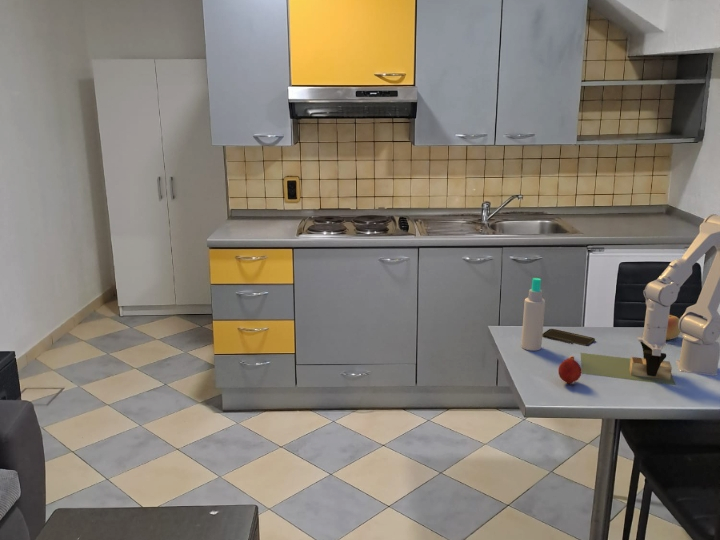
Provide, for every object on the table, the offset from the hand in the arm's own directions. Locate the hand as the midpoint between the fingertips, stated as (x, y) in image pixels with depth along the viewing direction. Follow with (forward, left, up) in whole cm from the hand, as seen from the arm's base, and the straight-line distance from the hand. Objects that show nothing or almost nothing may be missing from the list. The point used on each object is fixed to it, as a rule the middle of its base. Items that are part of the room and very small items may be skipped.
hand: (649, 370), depth 179 cm
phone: (+21, -23, -2) cm, 32 cm away
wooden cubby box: (0, 0, -1) cm, 1 cm away
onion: (+21, +13, -2) cm, 25 cm away
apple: (-8, -34, -2) cm, 35 cm away
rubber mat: (+6, -3, -1) cm, 7 cm away
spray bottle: (+32, -11, -2) cm, 34 cm away
